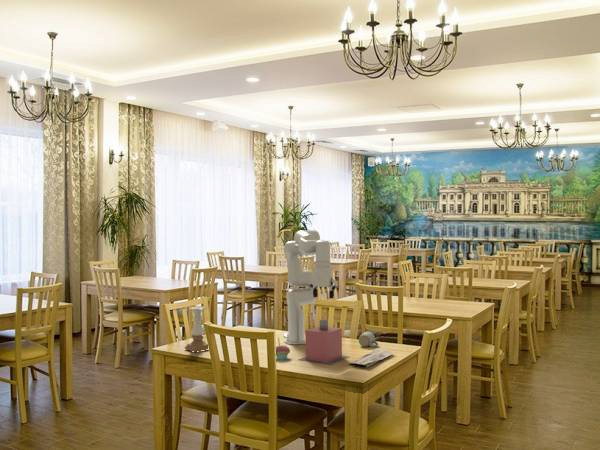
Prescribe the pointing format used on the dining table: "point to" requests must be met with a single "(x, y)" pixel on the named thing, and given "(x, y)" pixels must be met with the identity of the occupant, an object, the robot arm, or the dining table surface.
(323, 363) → the mat
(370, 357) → the newspaper
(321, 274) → the robot arm
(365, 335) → the ceramic mug
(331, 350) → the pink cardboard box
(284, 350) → the cupcake
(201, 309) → the candle holder
